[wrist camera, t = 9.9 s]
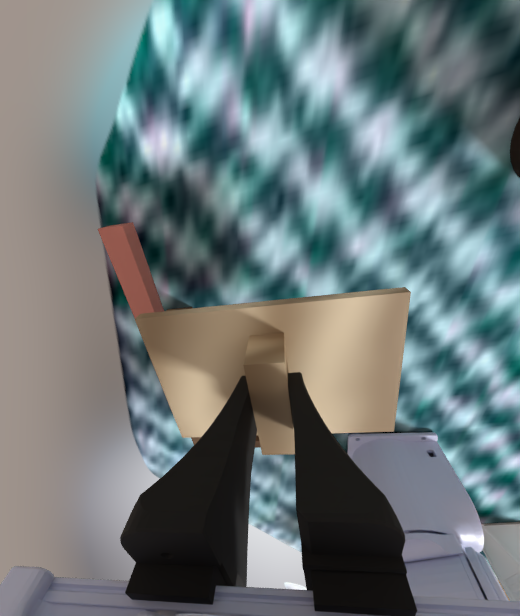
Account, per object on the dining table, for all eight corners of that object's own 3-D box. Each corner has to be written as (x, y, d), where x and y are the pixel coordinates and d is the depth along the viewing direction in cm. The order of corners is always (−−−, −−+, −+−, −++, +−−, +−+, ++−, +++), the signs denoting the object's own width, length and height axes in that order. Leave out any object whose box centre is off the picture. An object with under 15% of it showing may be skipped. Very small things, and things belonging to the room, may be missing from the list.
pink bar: (132, 222, 16) (122, 225, 15) (177, 350, 20) (172, 359, 19) (109, 225, 16) (97, 228, 15) (159, 351, 20) (152, 361, 19)
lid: (404, 287, 12) (441, 316, 9) (389, 423, 16) (412, 471, 13) (140, 313, 14) (105, 344, 11) (185, 429, 17) (168, 473, 15)
